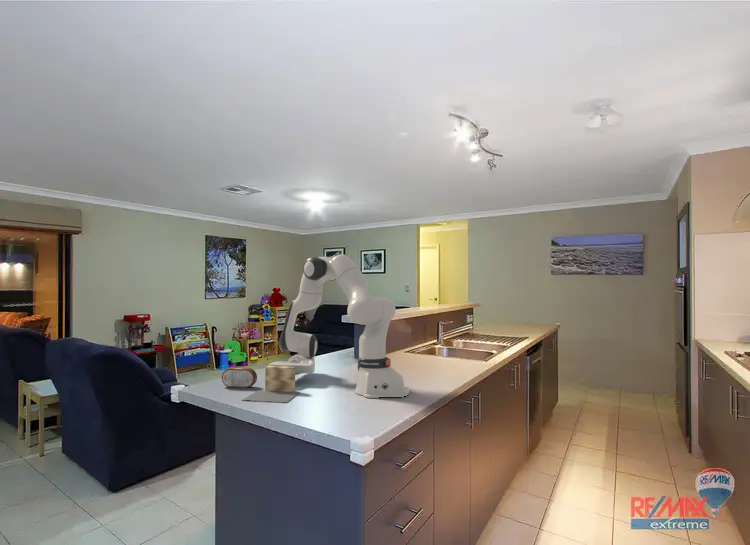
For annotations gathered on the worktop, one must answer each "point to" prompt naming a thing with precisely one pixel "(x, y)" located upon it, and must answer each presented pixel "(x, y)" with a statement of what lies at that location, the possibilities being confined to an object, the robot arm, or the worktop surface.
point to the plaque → (280, 378)
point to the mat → (271, 396)
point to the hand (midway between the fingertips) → (285, 371)
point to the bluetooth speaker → (239, 377)
